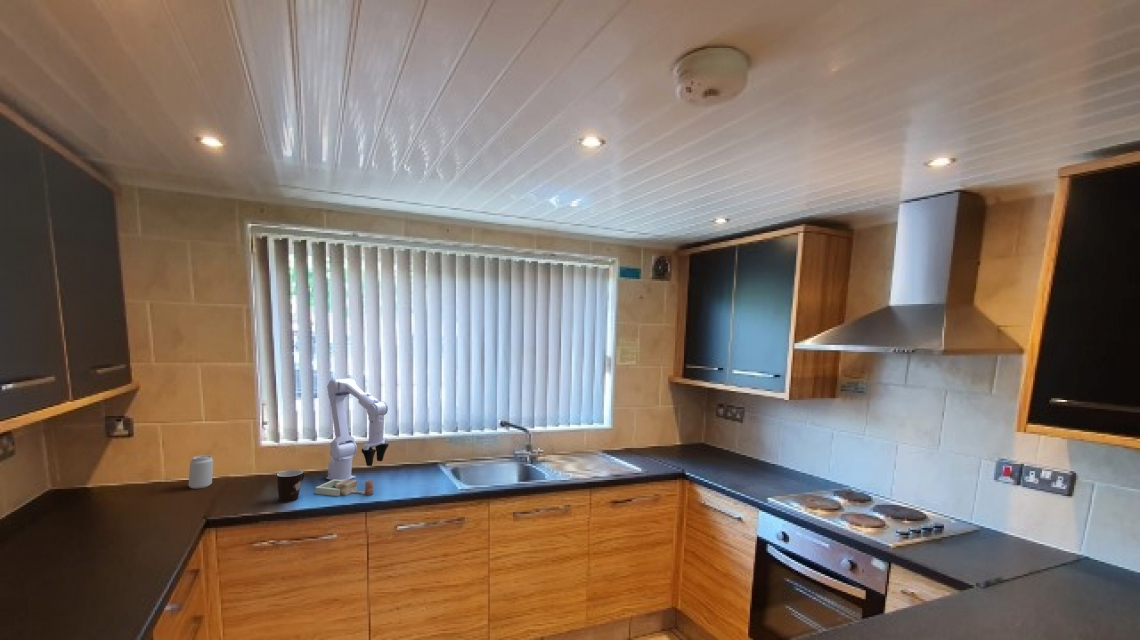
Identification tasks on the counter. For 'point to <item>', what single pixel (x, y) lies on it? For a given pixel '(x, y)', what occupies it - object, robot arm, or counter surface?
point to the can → (201, 472)
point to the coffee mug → (289, 485)
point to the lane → (328, 488)
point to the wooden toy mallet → (354, 487)
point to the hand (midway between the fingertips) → (374, 463)
